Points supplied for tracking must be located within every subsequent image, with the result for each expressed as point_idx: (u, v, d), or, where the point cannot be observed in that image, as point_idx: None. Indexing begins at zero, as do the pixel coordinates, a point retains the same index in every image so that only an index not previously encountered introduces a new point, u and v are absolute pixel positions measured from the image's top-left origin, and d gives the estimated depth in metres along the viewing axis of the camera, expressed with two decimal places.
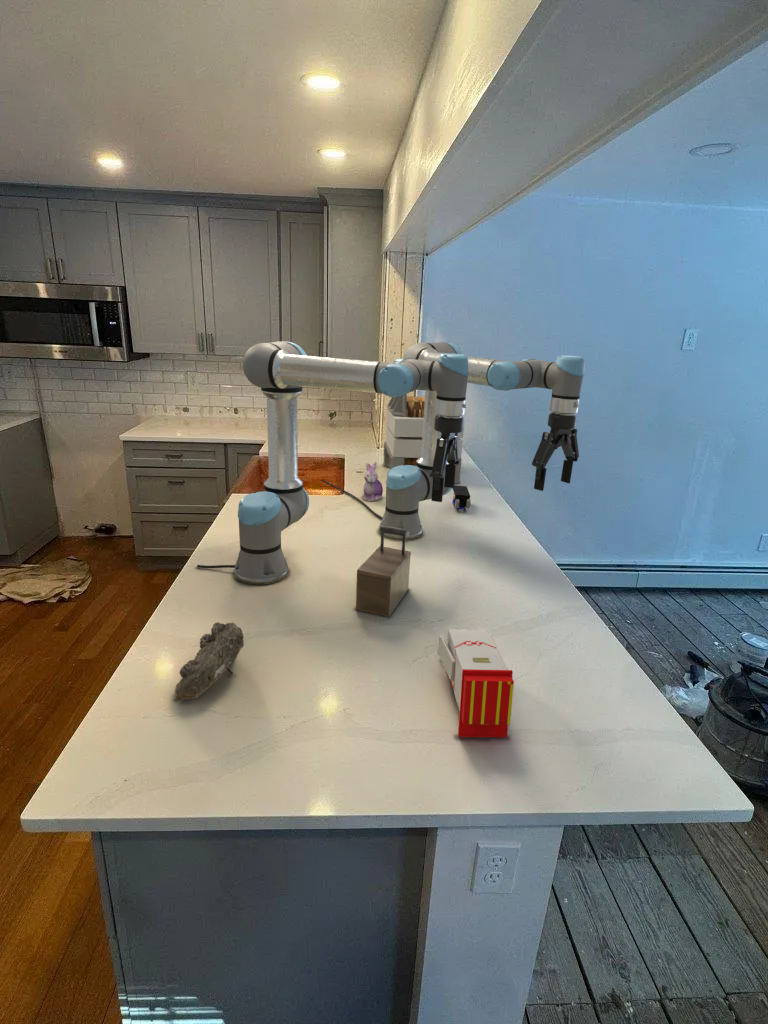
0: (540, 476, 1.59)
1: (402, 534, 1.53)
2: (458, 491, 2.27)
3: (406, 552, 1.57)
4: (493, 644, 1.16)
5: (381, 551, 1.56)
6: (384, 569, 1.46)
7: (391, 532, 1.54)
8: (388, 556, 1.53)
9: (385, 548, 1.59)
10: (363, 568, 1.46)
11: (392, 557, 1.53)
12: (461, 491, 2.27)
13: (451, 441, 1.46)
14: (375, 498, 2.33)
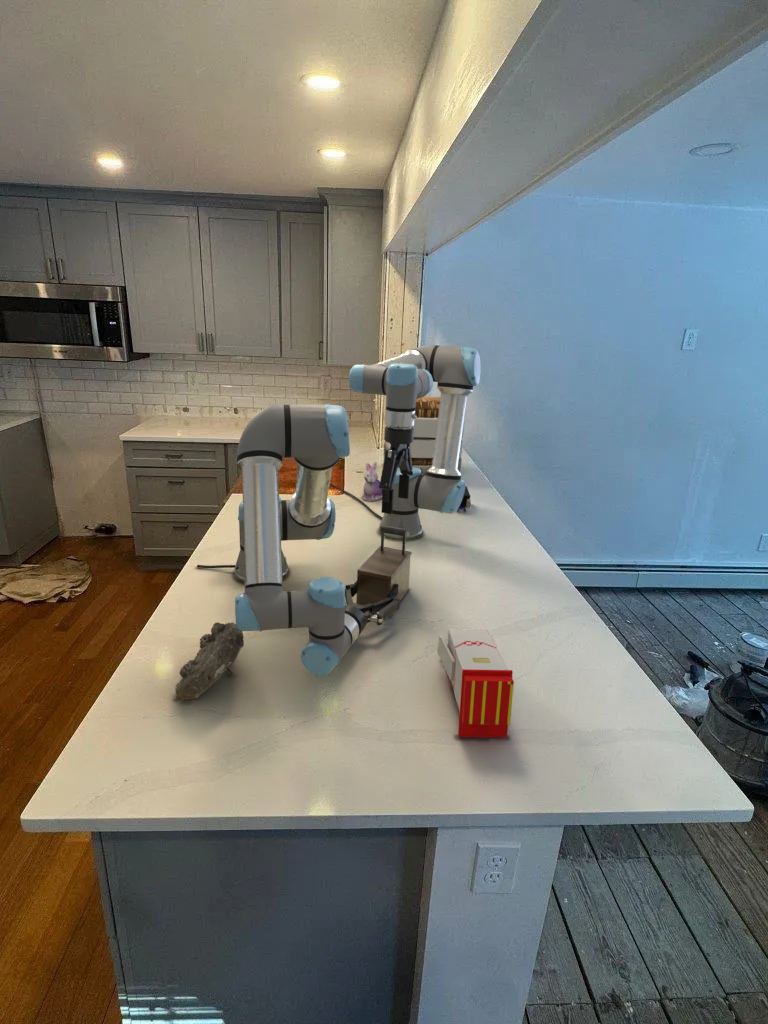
0: (388, 498, 1.43)
1: (402, 534, 1.53)
2: None
3: (406, 552, 1.57)
4: (493, 644, 1.16)
5: (381, 551, 1.56)
6: (384, 569, 1.46)
7: (391, 532, 1.54)
8: (388, 556, 1.53)
9: (385, 548, 1.59)
10: (363, 568, 1.46)
11: (393, 557, 1.53)
12: None
13: None
14: (375, 498, 2.33)
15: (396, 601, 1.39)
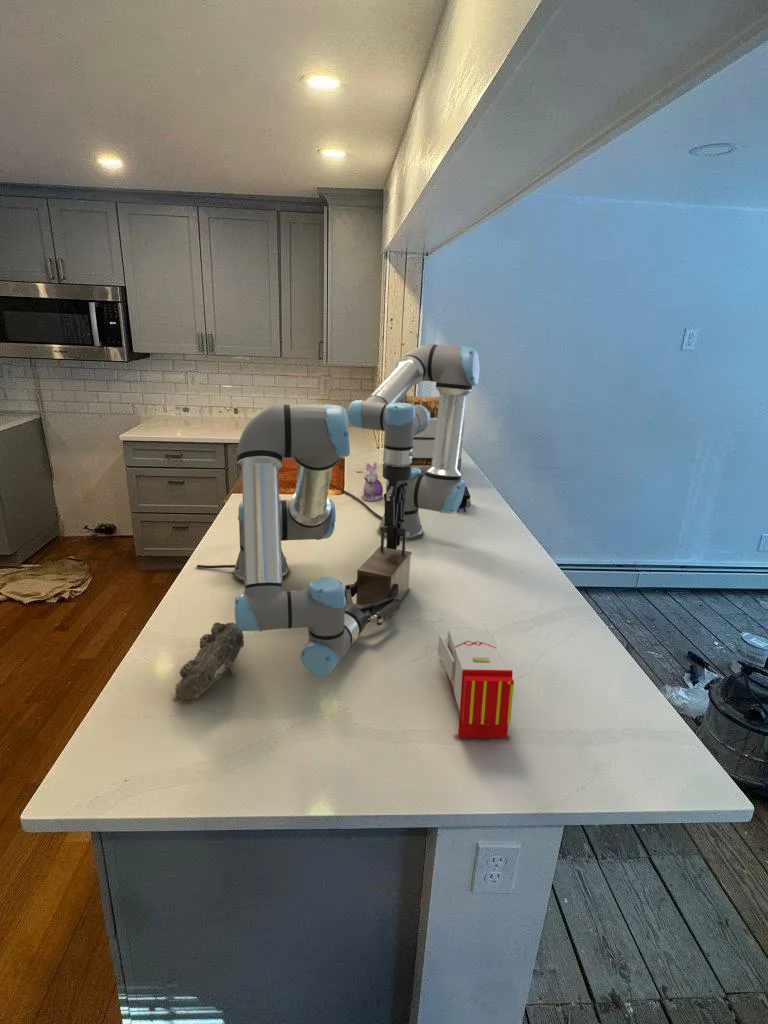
0: (393, 535, 1.52)
1: (402, 534, 1.53)
2: None
3: (406, 552, 1.57)
4: (493, 644, 1.16)
5: (381, 551, 1.56)
6: (384, 569, 1.46)
7: None
8: (388, 556, 1.53)
9: (385, 548, 1.58)
10: (363, 568, 1.46)
11: (393, 557, 1.53)
12: None
13: None
14: (375, 498, 2.33)
15: (396, 601, 1.39)
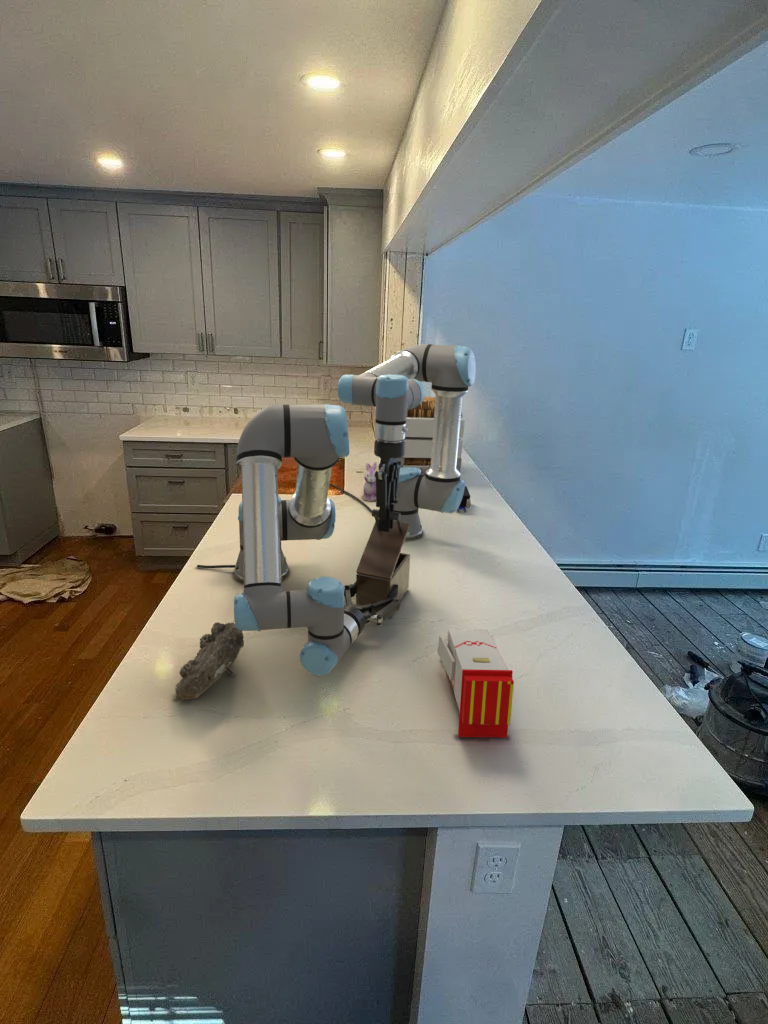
0: (385, 517, 1.43)
1: (395, 519, 1.44)
2: None
3: (404, 526, 1.50)
4: (493, 644, 1.16)
5: (378, 529, 1.51)
6: (383, 565, 1.44)
7: None
8: (386, 538, 1.49)
9: None
10: (362, 568, 1.44)
11: (390, 539, 1.48)
12: None
13: None
14: (375, 498, 2.33)
15: (396, 601, 1.38)
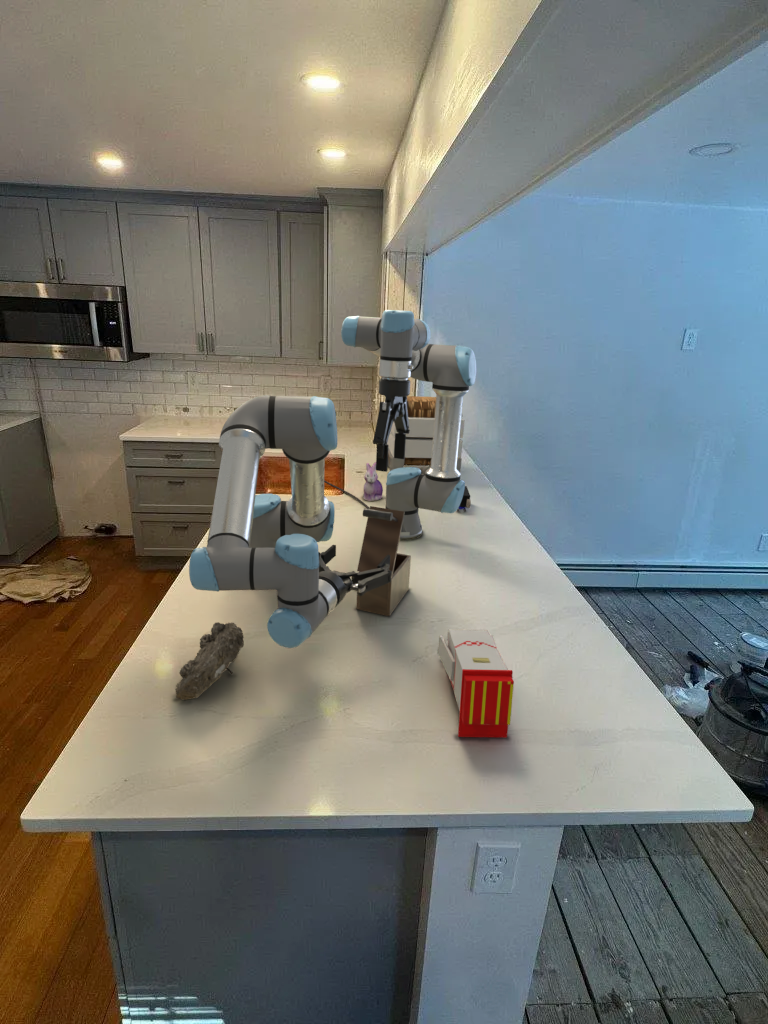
0: (383, 455, 1.34)
1: (388, 520, 1.38)
2: None
3: (399, 515, 1.44)
4: (493, 644, 1.16)
5: (373, 520, 1.46)
6: None
7: (376, 518, 1.39)
8: (382, 530, 1.45)
9: None
10: (362, 566, 1.45)
11: (387, 531, 1.44)
12: None
13: None
14: (375, 498, 2.33)
15: (386, 572, 1.21)
